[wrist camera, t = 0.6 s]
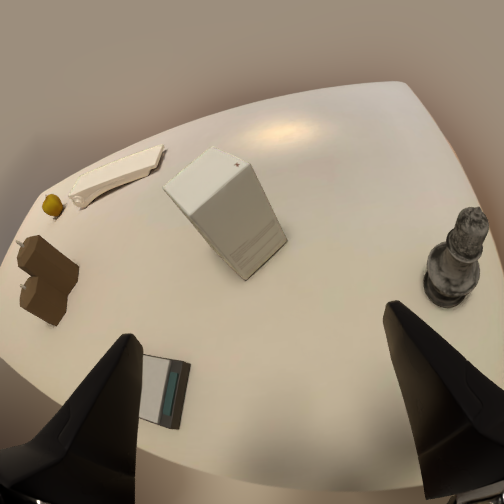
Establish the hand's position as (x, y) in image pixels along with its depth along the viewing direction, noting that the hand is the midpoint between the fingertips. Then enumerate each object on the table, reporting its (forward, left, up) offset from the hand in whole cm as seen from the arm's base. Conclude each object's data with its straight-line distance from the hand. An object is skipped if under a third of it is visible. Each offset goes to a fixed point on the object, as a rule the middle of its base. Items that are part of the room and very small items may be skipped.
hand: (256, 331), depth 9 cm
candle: (+29, +44, -19) cm, 56 cm away
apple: (+64, +58, -19) cm, 88 cm away
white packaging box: (+19, +3, -19) cm, 27 cm away
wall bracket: (+56, +30, -19) cm, 66 cm away
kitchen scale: (+5, +20, -18) cm, 28 cm away
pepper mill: (+4, -16, -19) cm, 25 cm away
